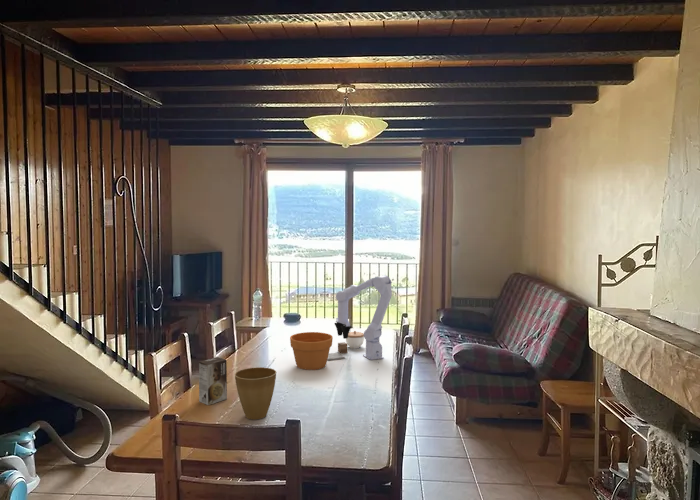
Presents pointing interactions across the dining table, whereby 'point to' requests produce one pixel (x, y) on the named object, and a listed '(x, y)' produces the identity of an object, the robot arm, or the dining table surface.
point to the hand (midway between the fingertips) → (342, 336)
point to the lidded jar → (355, 339)
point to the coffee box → (212, 380)
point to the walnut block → (342, 347)
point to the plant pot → (255, 390)
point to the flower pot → (311, 349)
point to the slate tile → (335, 356)
